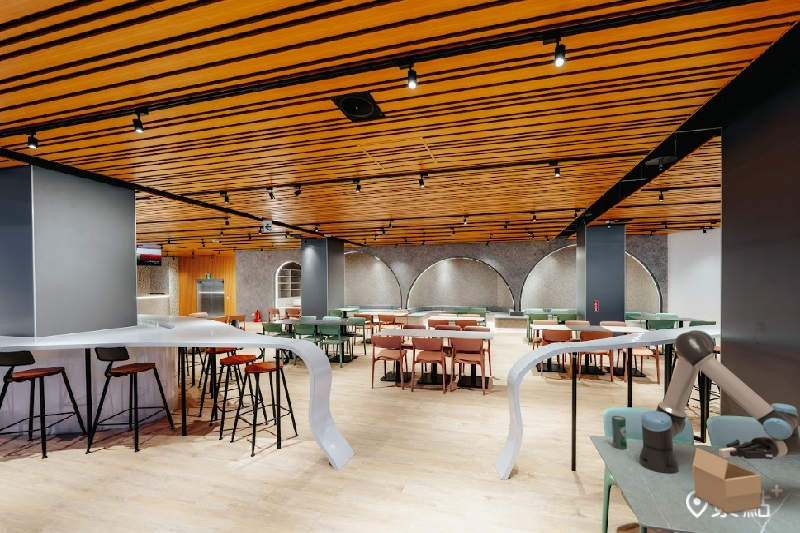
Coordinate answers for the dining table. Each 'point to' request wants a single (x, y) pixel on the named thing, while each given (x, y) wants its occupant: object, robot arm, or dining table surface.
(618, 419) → the can
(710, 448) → the dining table surface
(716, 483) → the carton
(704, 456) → the flap
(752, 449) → the robot arm
